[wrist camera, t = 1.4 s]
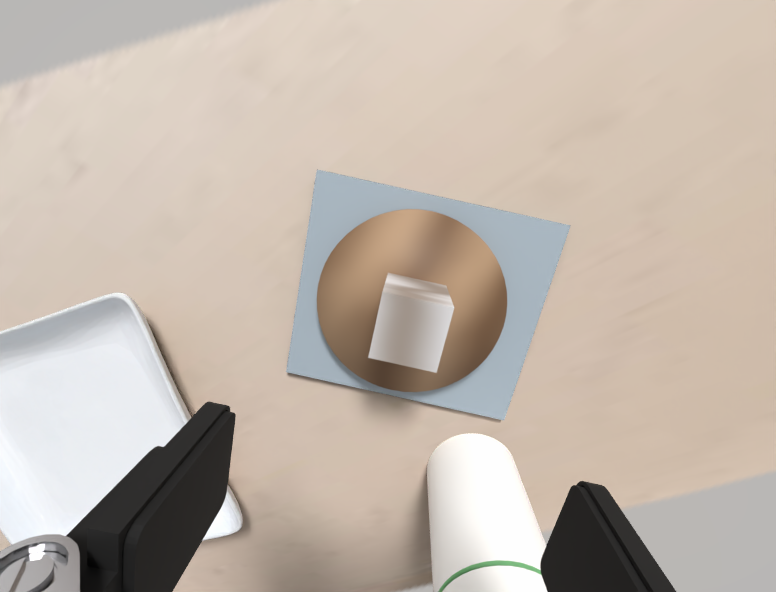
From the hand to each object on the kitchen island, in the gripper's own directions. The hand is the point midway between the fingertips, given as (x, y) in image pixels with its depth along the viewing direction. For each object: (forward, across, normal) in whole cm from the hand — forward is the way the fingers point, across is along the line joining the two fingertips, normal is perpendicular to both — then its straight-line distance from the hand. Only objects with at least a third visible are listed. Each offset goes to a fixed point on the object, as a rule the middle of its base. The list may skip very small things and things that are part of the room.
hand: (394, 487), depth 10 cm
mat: (+18, -1, 0) cm, 18 cm away
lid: (+17, -1, 0) cm, 17 cm away
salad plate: (+19, +22, +17) cm, 34 cm away
